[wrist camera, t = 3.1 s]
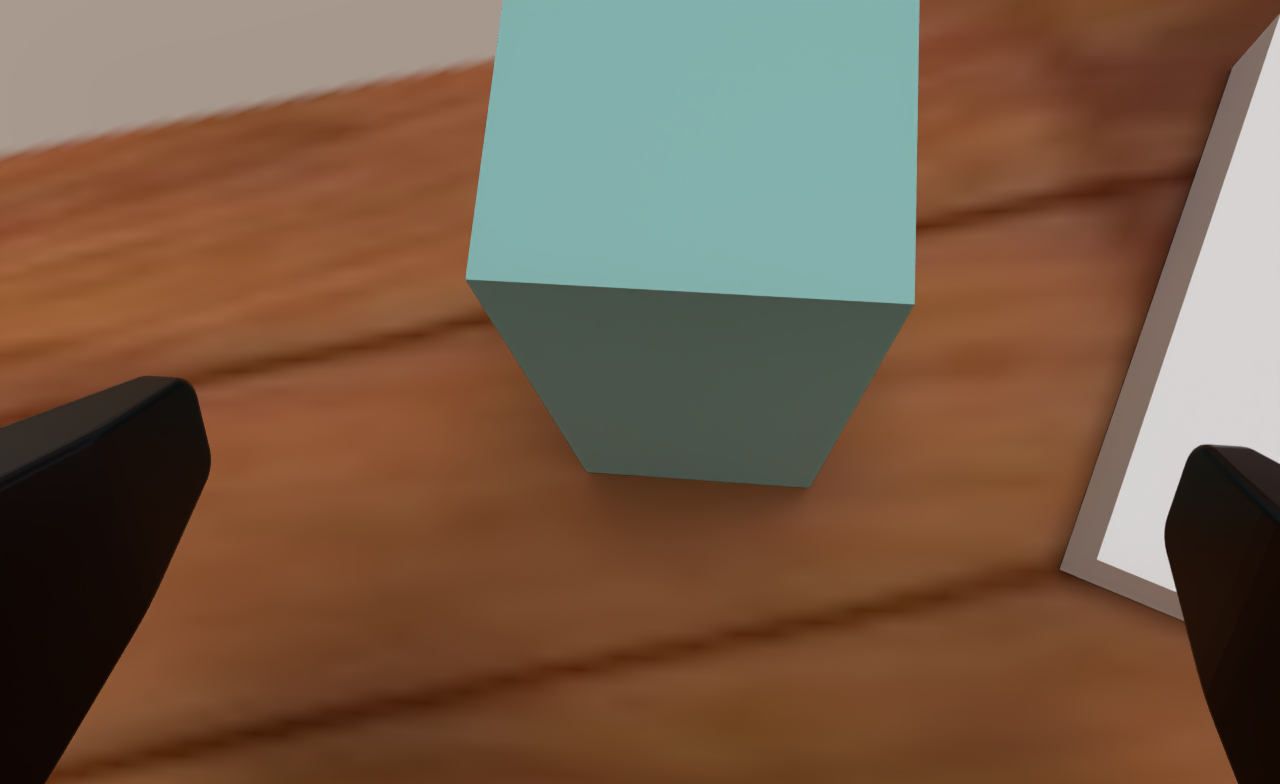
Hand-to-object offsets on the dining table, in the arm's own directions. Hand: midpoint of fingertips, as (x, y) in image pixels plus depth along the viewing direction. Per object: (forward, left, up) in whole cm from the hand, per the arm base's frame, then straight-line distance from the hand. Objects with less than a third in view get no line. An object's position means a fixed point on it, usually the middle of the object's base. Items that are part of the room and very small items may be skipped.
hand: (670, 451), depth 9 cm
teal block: (+4, +1, -12) cm, 12 cm away
